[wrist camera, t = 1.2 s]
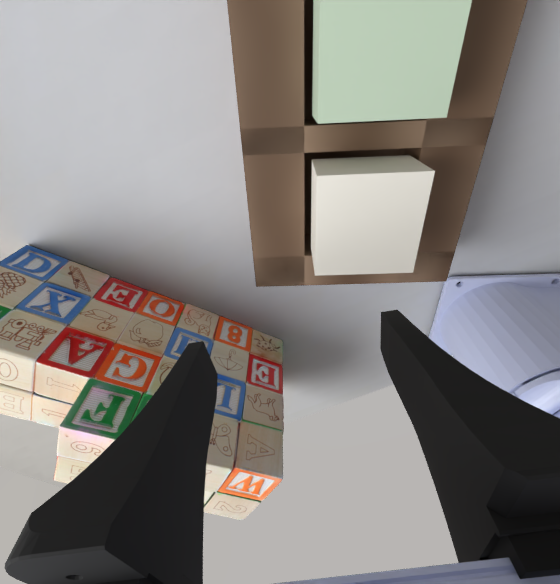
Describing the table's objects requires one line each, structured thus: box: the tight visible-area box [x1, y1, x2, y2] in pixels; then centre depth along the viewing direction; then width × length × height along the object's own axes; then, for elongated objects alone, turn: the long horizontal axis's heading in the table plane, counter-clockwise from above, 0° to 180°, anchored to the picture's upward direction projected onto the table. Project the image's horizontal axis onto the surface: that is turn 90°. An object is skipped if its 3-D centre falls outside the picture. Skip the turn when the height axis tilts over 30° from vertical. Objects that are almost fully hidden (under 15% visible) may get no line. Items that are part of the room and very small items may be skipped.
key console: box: [227, 0, 527, 287], centre depth 15 cm, size 12×24×4 cm, turn 3°
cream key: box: [311, 155, 435, 276], centre depth 16 cm, size 5×5×3 cm
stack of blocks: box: [0, 245, 284, 520], centre depth 23 cm, size 21×6×12 cm, turn 64°
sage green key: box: [312, 0, 472, 124], centre depth 13 cm, size 5×5×3 cm
